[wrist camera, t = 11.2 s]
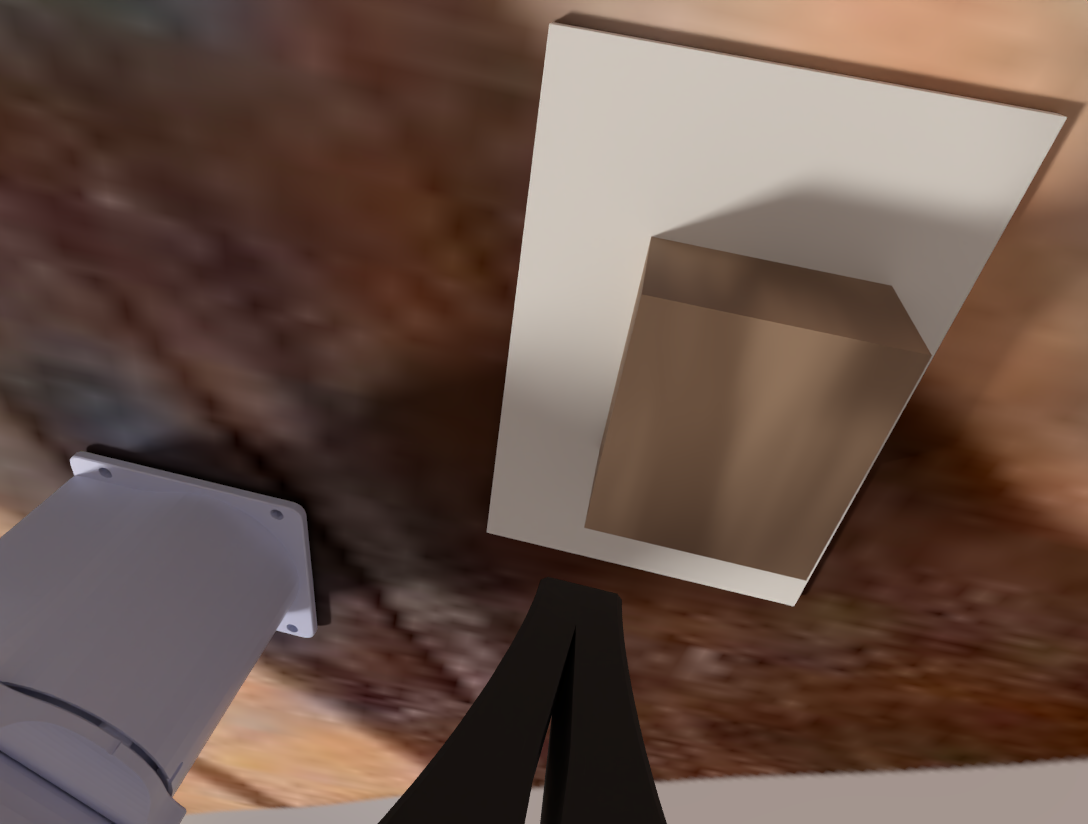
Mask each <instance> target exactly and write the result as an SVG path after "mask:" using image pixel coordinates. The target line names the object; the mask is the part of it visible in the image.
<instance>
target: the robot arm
mask: <svg viewBox="0 0 1088 824" xmlns="http://www.w3.org/2000/svg"><path fill="white" fill-rule="evenodd" d="M70 464H71V467H72V470H73V472H74V475H75V476H73V477H72V478H71V479H70V480H69V481H67V482H66V483H65V484H64V485H63V486H61V487H60V488H59V489H58V490H57V491H55V492H54V493H53V494H52V495H51V496H50V497H48V498H47V499H46V500H45V501H44V502H42V503H41V504H40V505H39V506H38V507H36V508H35V509H34V510H33V511H32V512H31V513H29V514H28V515H27V516H26V517H25V518H23V519H22V520H21V521H20V522H19V523H17V524H16V525H15V526H14V527H13V528H12V529H10V530H9V531H8V532H7V533H6V534H4V535H3V536H2V537H1V538H0V824H180V822H181V821H182V819H183V817H184V816H185V814H186V809H185V808H184V807H183V806H181V805H180V804H179V803H177V802H176V801H175V800H174V799H173V798H172V797H173V796H174V794H175V792H176V791H177V789H178V787H179V786H180V784H181V783H182V781H183V779H184V778H185V776H186V775H187V773H188V771H189V770H190V768H191V767H192V765H193V763H194V762H195V760H196V758H197V757H198V755H199V754H200V752H201V750H202V749H203V747H204V746H205V744H206V742H207V741H208V739H209V738H210V736H211V734H212V733H213V731H214V729H215V728H216V726H217V725H218V723H219V721H220V720H221V718H222V717H223V715H224V713H225V712H226V710H227V709H228V707H229V705H230V704H231V702H232V700H233V699H234V697H235V696H236V694H237V692H238V691H239V689H240V688H241V686H242V684H243V683H244V681H245V680H246V678H247V676H248V675H249V673H250V671H251V670H252V668H253V667H254V665H255V663H256V662H257V660H258V659H259V657H260V655H261V654H262V652H263V651H264V649H265V647H266V646H267V644H268V643H269V641H270V639H271V638H272V636H273V634H274V633H275V631H276V630H277V631H281V632H285V633H289V634H293V635H296V636H300V637H305V638H309V637H312V636H314V634H315V632H316V631H317V628H318V627H317V617H316V607H315V597H314V587H313V577H312V567H311V557H310V547H309V537H308V527H307V516H306V512H305V510H304V509H303V507H302V506H300V505H299V504H297V503H295V502H291V501H287V500H283V499H279V498H275V497H271V496H266V495H262V494H258V493H254V492H250V491H246V490H242V489H237V488H233V487H229V486H225V485H221V484H217V483H213V482H208V481H204V480H200V479H196V478H192V477H188V476H184V475H180V474H175V473H171V472H167V471H163V470H159V469H155V468H151V467H146V466H142V465H138V464H134V463H130V462H126V461H122V460H118V459H113V458H109V457H105V456H101V455H97V454H93V453H89V452H83V451H80V452H77V453H76V454H75V455H73V456H72V457H71V459H70ZM551 716H552V719H551ZM550 719H551V728H550V738H549V747H548V756H547V765H546V775H545V784H544V794H543V803H542V813H541V822H540V824H667V823H666V820H665V817H664V813H663V810H662V807H661V804H660V800H659V797H658V793H657V790H656V787H655V783H654V780H653V776H652V772H651V768H650V765H649V761H648V757H647V754H646V750H645V746H644V742H643V738H642V733H641V729H640V725H639V720H638V715H637V711H636V706H635V701H634V697H633V692H632V687H631V681H630V676H629V670H628V663H627V657H626V650H625V642H624V634H623V622H622V600H621V598H620V597H619V596H618V594H616V593H612V592H608V591H604V590H600V589H595V588H591V587H587V586H583V585H579V584H575V583H571V582H567V581H563V580H558V579H554V578H550V577H547V578H544V579H542V580H541V581H540V584H539V587H538V590H537V593H536V595H535V598H534V600H533V602H532V605H531V607H530V609H529V611H528V614H527V616H526V618H525V620H524V622H523V624H522V626H521V627H520V629H519V631H518V633H517V635H516V637H515V638H514V640H513V642H512V644H511V646H510V647H509V649H508V651H507V652H506V654H505V655H504V657H503V659H502V660H501V662H500V664H499V665H498V667H497V669H496V670H495V672H494V674H493V675H492V677H491V678H490V680H489V681H488V683H487V685H486V686H485V688H484V689H483V690H482V692H481V693H480V695H479V696H478V698H477V699H476V701H475V702H474V703H473V705H472V706H471V708H470V709H469V711H468V712H467V713H466V715H465V716H464V718H463V719H462V721H461V722H460V723H459V725H458V726H457V728H456V729H455V730H454V732H453V733H452V734H451V736H450V737H449V738H448V740H447V741H446V742H445V744H444V745H443V746H442V747H441V749H440V750H439V751H438V753H437V754H436V755H435V756H434V758H433V759H432V760H431V761H430V763H429V764H428V765H427V766H426V768H425V769H424V770H423V771H422V773H421V774H420V775H419V776H418V778H417V779H416V780H415V781H414V782H413V784H412V785H411V786H410V787H409V788H408V789H407V791H406V792H405V793H404V794H403V795H402V796H401V798H400V799H399V800H398V801H397V802H396V803H395V805H394V806H393V807H392V808H391V809H390V811H389V812H388V813H387V814H386V815H385V816H384V817H383V818H382V819H381V821H380V822H379V823H378V824H525V818H526V813H527V808H528V803H529V797H530V792H531V787H532V782H533V778H534V774H535V771H536V767H537V764H538V761H539V757H540V754H541V750H542V747H543V743H544V740H545V736H546V733H547V729H548V726H549V722H550Z"/></svg>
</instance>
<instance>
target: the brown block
mask: <svg viewBox="0 0 1088 824" xmlns="http://www.w3.org/2000/svg"><path fill="white" fill-rule="evenodd" d="M931 356H932V355H931V353H930V351H929V349H928V348H927V346H926V344H925V342H924V341H923V339H922V337H921V335H920V334H919V332H918V330H917V328H916V327H915V325H914V323H913V322H912V320H911V318H910V316H909V315H908V313H907V311H906V309H905V308H904V306H903V304H902V302H901V301H900V299H899V297H898V295H897V294H896V292H895V290H894V288H893V287H892V286H891V285H886V284H881V283H876V282H871V281H866V280H862V279H857V278H852V277H847V276H842V275H837V274H832V273H827V272H822V271H818V270H813V269H808V268H803V267H798V266H793V265H788V264H783V263H778V262H774V261H769V260H764V259H759V258H754V257H749V256H744V255H739V254H734V253H729V252H725V251H720V250H715V249H710V248H705V247H700V246H695V245H690V244H685V243H681V242H676V241H671V240H666V239H661V238H656V237H651V239H650V244H649V248H648V252H647V256H646V260H645V264H644V268H643V272H642V277H641V281H640V285H639V289H638V293H637V297H636V301H635V306H634V310H633V314H632V318H631V322H630V326H629V330H628V334H627V339H626V343H625V347H624V351H623V355H622V359H621V363H620V367H619V372H618V376H617V380H616V384H615V388H614V392H613V396H612V400H611V405H610V409H609V413H608V417H607V421H606V425H605V429H604V434H603V438H602V442H601V446H600V450H599V455H598V460H597V465H596V470H595V475H594V480H593V485H592V490H591V495H590V501H589V506H588V511H587V516H586V521H585V526H584V528H587V529H591V530H595V531H599V532H604V533H608V534H612V535H616V536H620V537H625V538H629V539H633V540H637V541H641V542H646V543H650V544H654V545H658V546H662V547H667V548H671V549H675V550H679V551H683V552H688V553H692V554H696V555H700V556H704V557H709V558H713V559H717V560H721V561H725V562H730V563H734V564H738V565H742V566H746V567H751V568H755V569H759V570H763V571H767V572H772V573H776V574H780V575H784V576H788V577H793V578H797V579H801V580H805V581H806V580H807V578H808V576H809V575H810V573H811V571H812V569H813V568H814V566H815V564H816V562H817V560H818V559H819V557H820V555H821V553H822V551H823V550H824V548H825V546H826V544H827V542H828V541H829V539H830V537H831V535H832V534H833V532H834V530H835V528H836V526H837V525H838V523H839V521H840V519H841V517H842V516H843V514H844V512H845V510H846V508H847V507H848V505H849V503H850V501H851V500H852V498H853V496H854V494H855V492H856V491H857V489H858V487H859V485H860V483H861V482H862V480H863V478H864V476H865V474H866V473H867V471H868V469H869V467H870V466H871V464H872V462H873V460H874V458H875V457H876V455H877V453H878V451H879V449H880V448H881V446H882V444H883V442H884V441H885V439H886V437H887V435H888V433H889V432H890V430H891V428H892V426H893V424H894V423H895V421H896V419H897V417H898V415H899V414H900V412H901V410H902V408H903V407H904V405H905V403H906V401H907V399H908V398H909V396H910V394H911V392H912V390H913V389H914V387H915V385H916V383H917V381H918V380H919V378H920V376H921V374H922V373H923V371H924V369H925V367H926V365H927V364H928V362H929V360H930V358H931Z"/></svg>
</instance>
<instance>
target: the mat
mask: <svg viewBox="0 0 1088 824" xmlns="http://www.w3.org/2000/svg"><path fill="white" fill-rule="evenodd" d="M1066 119H1067V117H1066V116H1063V115H1061V114H1059V113H1054V112H1048V111H1043V110H1037V109H1031V108H1026V107H1020V106H1015V105H1009V104H1004V103H998V102H993V101H987V100H982V99H976V98H971V97H965V96H960V95H954V94H948V93H943V92H937V91H932V90H926V89H921V88H915V87H910V86H904V85H899V84H893V83H888V82H882V81H876V80H871V79H865V78H860V77H854V76H849V75H843V74H838V73H832V72H827V71H821V70H816V69H810V68H805V67H799V66H793V65H788V64H782V63H777V62H771V61H766V60H760V59H755V58H749V57H744V56H738V55H733V54H727V53H721V52H716V51H710V50H705V49H699V48H694V47H688V46H683V45H677V44H672V43H666V42H661V41H655V40H650V39H644V38H638V37H633V36H627V35H622V34H616V33H611V32H605V31H600V30H594V29H589V28H583V27H578V26H572V25H566V24H561V23H555V22H552V23H550V24H549V31H548V39H547V47H546V55H545V63H544V71H543V79H542V87H541V95H540V104H539V112H538V120H537V128H536V136H535V144H534V152H533V160H532V168H531V176H530V185H529V193H528V201H527V209H526V217H525V225H524V233H523V241H522V249H521V257H520V266H519V274H518V282H517V290H516V298H515V306H514V314H513V322H512V330H511V338H510V347H509V355H508V363H507V371H506V379H505V387H504V395H503V403H502V411H501V419H500V428H499V436H498V444H497V452H496V460H495V468H494V476H493V484H492V492H491V500H490V509H489V517H488V525H487V533H491V534H495V535H499V536H503V537H507V538H512V539H516V540H520V541H524V542H528V543H532V544H537V545H541V546H545V547H549V548H553V549H557V550H562V551H566V552H570V553H574V554H578V555H582V556H587V557H591V558H595V559H599V560H603V561H607V562H612V563H616V564H620V565H624V566H628V567H632V568H637V569H641V570H645V571H649V572H653V573H657V574H662V575H666V576H670V577H674V578H678V579H682V580H687V581H691V582H695V583H699V584H703V585H707V586H712V587H716V588H720V589H724V590H728V591H732V592H737V593H741V594H745V595H749V596H753V597H757V598H762V599H766V600H770V601H774V602H778V603H782V604H787V605H791V606H794V605H795V604H796V602H797V600H798V598H799V596H800V595H801V593H802V591H803V589H804V587H805V586H806V584H807V582H808V580H809V579H810V577H811V575H812V573H813V571H814V570H815V568H816V566H817V564H818V562H819V561H820V559H821V557H822V555H823V554H824V552H825V550H826V548H827V546H828V545H829V543H830V541H831V539H832V537H833V536H834V534H835V532H836V530H837V528H838V527H839V525H840V523H841V521H842V520H843V518H844V516H845V514H846V512H847V511H848V509H849V507H850V505H851V503H852V502H853V500H854V498H855V496H856V494H857V493H858V491H859V489H860V487H861V486H862V484H863V482H864V480H865V478H866V477H867V475H868V473H869V471H870V469H871V468H872V466H873V464H874V462H875V460H876V459H877V457H878V455H879V453H880V452H881V450H882V448H883V446H884V444H885V443H886V441H887V439H888V437H889V435H890V434H891V432H892V430H893V428H894V426H895V425H896V423H897V421H898V419H899V418H900V416H901V414H902V412H903V410H904V409H905V407H906V405H907V403H908V401H909V400H910V398H911V396H912V394H913V392H914V391H915V389H916V387H917V385H918V384H919V382H920V380H921V378H922V376H923V375H924V373H925V371H926V369H927V367H928V366H929V364H930V362H931V360H932V359H933V357H934V355H935V353H936V351H937V350H938V348H939V346H940V344H941V342H942V341H943V339H944V337H945V335H946V333H947V332H948V330H949V328H950V326H951V325H952V323H953V321H954V319H955V317H956V316H957V314H958V312H959V310H960V308H961V307H962V305H963V303H964V301H965V299H966V298H967V296H968V294H969V292H970V291H971V289H972V287H973V285H974V283H975V282H976V280H977V278H978V276H979V274H980V273H981V271H982V269H983V267H984V265H985V264H986V262H987V260H988V258H989V257H990V255H991V253H992V251H993V249H994V248H995V246H996V244H997V242H998V240H999V239H1000V237H1001V235H1002V233H1003V231H1004V230H1005V228H1006V226H1007V224H1008V223H1009V221H1010V219H1011V217H1012V215H1013V214H1014V212H1015V210H1016V208H1017V206H1018V205H1019V203H1020V201H1021V199H1022V198H1023V196H1024V194H1025V192H1026V190H1027V189H1028V187H1029V185H1030V183H1031V181H1032V180H1033V178H1034V176H1035V174H1036V172H1037V171H1038V169H1039V167H1040V165H1041V164H1042V162H1043V160H1044V158H1045V156H1046V155H1047V153H1048V151H1049V149H1050V147H1051V146H1052V144H1053V142H1054V140H1055V138H1056V137H1057V135H1058V133H1059V131H1060V130H1061V128H1062V126H1063V124H1064V122H1065V121H1066ZM651 237H656V238H661V239H666V240H671V241H676V242H681V243H685V244H690V245H695V246H700V247H705V248H710V249H715V250H720V251H725V252H729V253H734V254H739V255H744V256H749V257H754V258H759V259H764V260H769V261H774V262H778V263H783V264H788V265H793V266H798V267H803V268H808V269H813V270H818V271H822V272H827V273H832V274H837V275H842V276H847V277H852V278H857V279H862V280H866V281H871V282H876V283H881V284H886V285H891V286H892V287H893V288H894V290H895V292H896V294H897V295H898V297H899V299H900V301H901V302H902V304H903V306H904V308H905V309H906V311H907V313H908V315H909V316H910V318H911V320H912V322H913V323H914V325H915V327H916V328H917V330H918V332H919V334H920V335H921V337H922V339H923V341H924V342H925V344H926V346H927V348H928V349H929V351H930V353H931V355H932V356H931V358H930V360H929V362H928V364H927V365H926V367H925V369H924V371H923V373H922V374H921V376H920V378H919V380H918V381H917V383H916V385H915V387H914V389H913V390H912V392H911V394H910V396H909V398H908V399H907V401H906V403H905V405H904V407H903V408H902V410H901V412H900V414H899V415H898V417H897V419H896V421H895V423H894V424H893V426H892V428H891V430H890V432H889V433H888V435H887V437H886V439H885V441H884V442H883V444H882V446H881V448H880V449H879V451H878V453H877V455H876V457H875V458H874V460H873V462H872V464H871V466H870V467H869V469H868V471H867V473H866V474H865V476H864V478H863V480H862V482H861V483H860V485H859V487H858V489H857V491H856V492H855V494H854V496H853V498H852V500H851V501H850V503H849V505H848V507H847V508H846V510H845V512H844V514H843V516H842V517H841V519H840V521H839V523H838V525H837V526H836V528H835V530H834V532H833V534H832V535H831V537H830V539H829V541H828V542H827V544H826V546H825V548H824V550H823V551H822V553H821V555H820V557H819V559H818V560H817V562H816V564H815V566H814V568H813V569H812V571H811V573H810V575H809V576H808V578H807V580H806V581H805V580H801V579H797V578H793V577H788V576H784V575H780V574H776V573H772V572H767V571H763V570H759V569H755V568H751V567H746V566H742V565H738V564H734V563H730V562H725V561H721V560H717V559H713V558H709V557H704V556H700V555H696V554H692V553H688V552H683V551H679V550H675V549H671V548H667V547H662V546H658V545H654V544H650V543H646V542H641V541H637V540H633V539H629V538H625V537H620V536H616V535H612V534H608V533H604V532H599V531H595V530H591V529H587V528H584V526H585V521H586V516H587V511H588V506H589V501H590V495H591V490H592V485H593V480H594V475H595V470H596V465H597V460H598V455H599V450H600V446H601V442H602V438H603V434H604V429H605V425H606V421H607V417H608V413H609V409H610V405H611V400H612V396H613V392H614V388H615V384H616V380H617V376H618V372H619V367H620V363H621V359H622V355H623V351H624V347H625V343H626V339H627V334H628V330H629V326H630V322H631V318H632V314H633V310H634V306H635V301H636V297H637V293H638V289H639V285H640V281H641V277H642V272H643V268H644V264H645V260H646V256H647V252H648V248H649V244H650V239H651Z"/></svg>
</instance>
